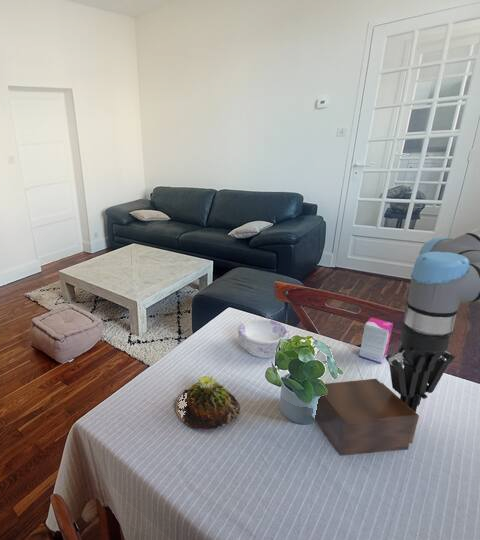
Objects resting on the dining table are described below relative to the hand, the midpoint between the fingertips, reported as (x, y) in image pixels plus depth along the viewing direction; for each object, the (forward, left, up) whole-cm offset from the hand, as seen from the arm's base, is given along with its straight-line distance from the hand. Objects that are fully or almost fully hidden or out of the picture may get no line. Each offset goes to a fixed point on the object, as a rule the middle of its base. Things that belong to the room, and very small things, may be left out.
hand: (406, 416), depth 77 cm
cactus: (+44, +4, -3) cm, 45 cm away
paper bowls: (+29, -26, -3) cm, 39 cm away
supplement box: (-2, -28, -3) cm, 28 cm away
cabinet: (+10, +4, -3) cm, 12 cm away
